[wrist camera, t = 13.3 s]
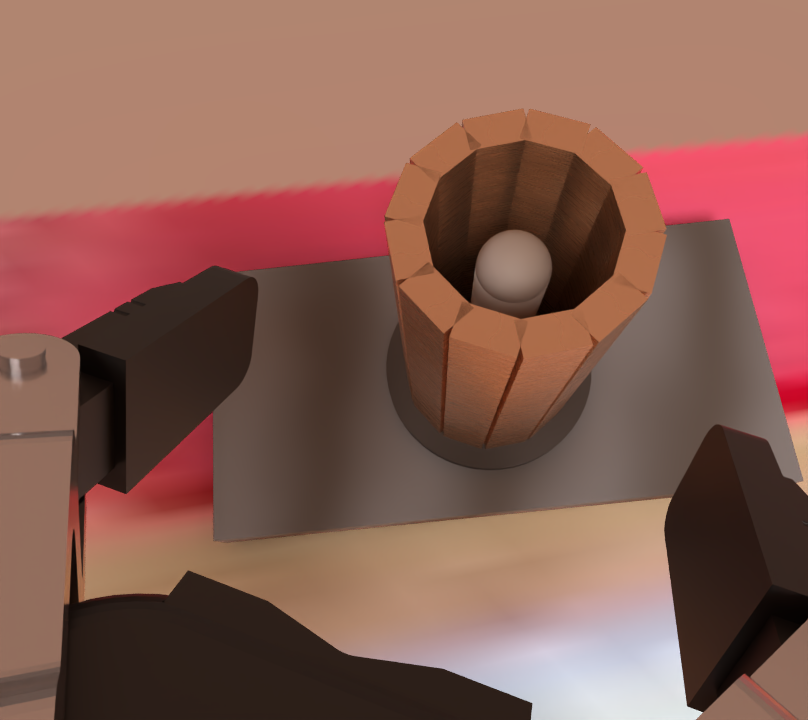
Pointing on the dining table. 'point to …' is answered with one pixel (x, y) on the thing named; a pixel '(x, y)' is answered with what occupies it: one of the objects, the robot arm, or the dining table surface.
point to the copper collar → (570, 279)
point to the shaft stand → (483, 468)
